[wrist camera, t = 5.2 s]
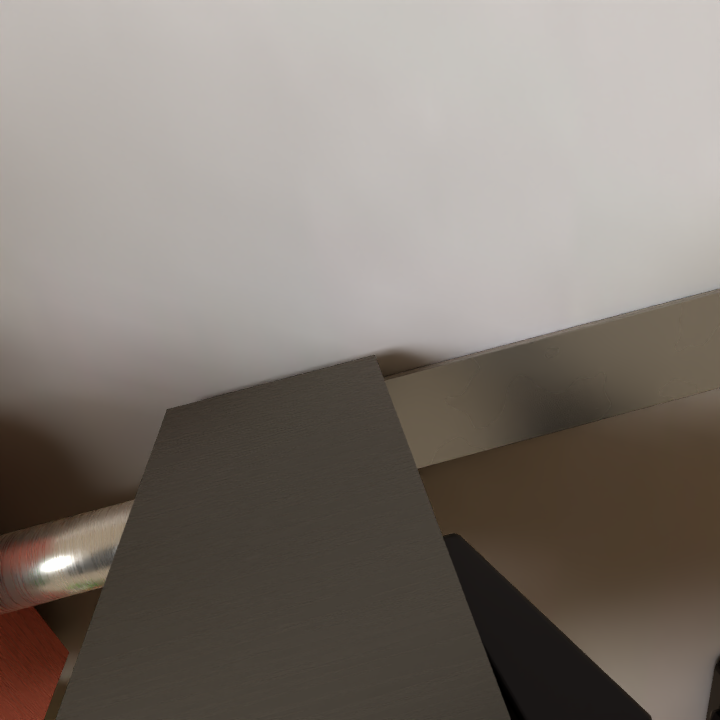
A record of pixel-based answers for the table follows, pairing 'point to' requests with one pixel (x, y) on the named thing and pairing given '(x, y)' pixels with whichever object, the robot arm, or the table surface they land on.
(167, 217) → the table surface
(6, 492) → the table surface
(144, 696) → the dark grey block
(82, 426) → the table surface
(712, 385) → the rail
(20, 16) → the table surface
